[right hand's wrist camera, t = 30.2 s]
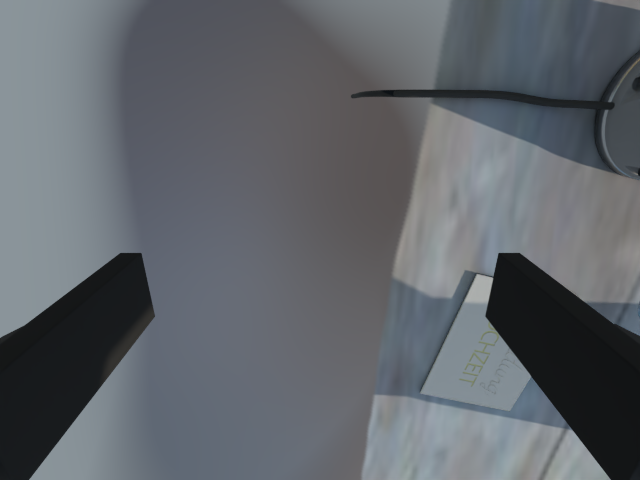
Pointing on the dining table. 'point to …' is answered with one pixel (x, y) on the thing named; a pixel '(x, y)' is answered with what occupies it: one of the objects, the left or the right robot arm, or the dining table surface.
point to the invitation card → (476, 358)
